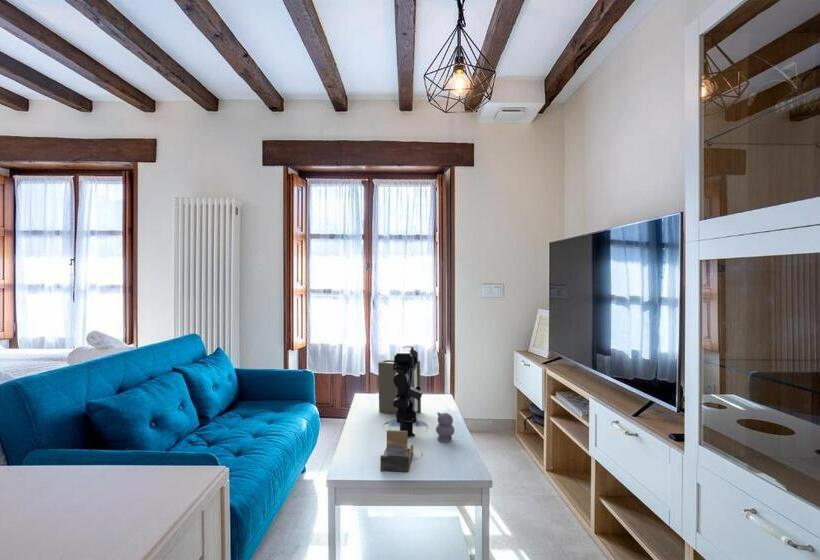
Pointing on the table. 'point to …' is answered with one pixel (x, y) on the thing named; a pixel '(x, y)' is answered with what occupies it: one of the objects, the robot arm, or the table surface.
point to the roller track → (396, 462)
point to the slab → (396, 443)
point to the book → (393, 387)
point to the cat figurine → (445, 427)
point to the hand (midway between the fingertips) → (403, 417)
